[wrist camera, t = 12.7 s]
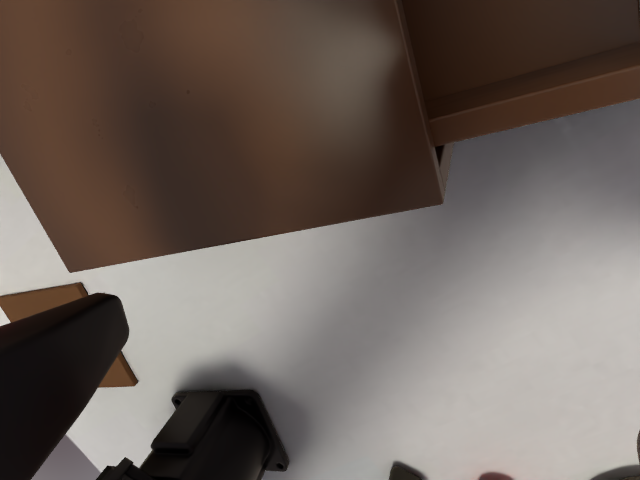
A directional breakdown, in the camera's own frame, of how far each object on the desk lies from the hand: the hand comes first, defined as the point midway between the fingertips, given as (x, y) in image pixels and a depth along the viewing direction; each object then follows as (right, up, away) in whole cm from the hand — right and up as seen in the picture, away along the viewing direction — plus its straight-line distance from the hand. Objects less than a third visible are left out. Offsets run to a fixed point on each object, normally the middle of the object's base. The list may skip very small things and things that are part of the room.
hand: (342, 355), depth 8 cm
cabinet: (-4, +10, +11) cm, 15 cm away
